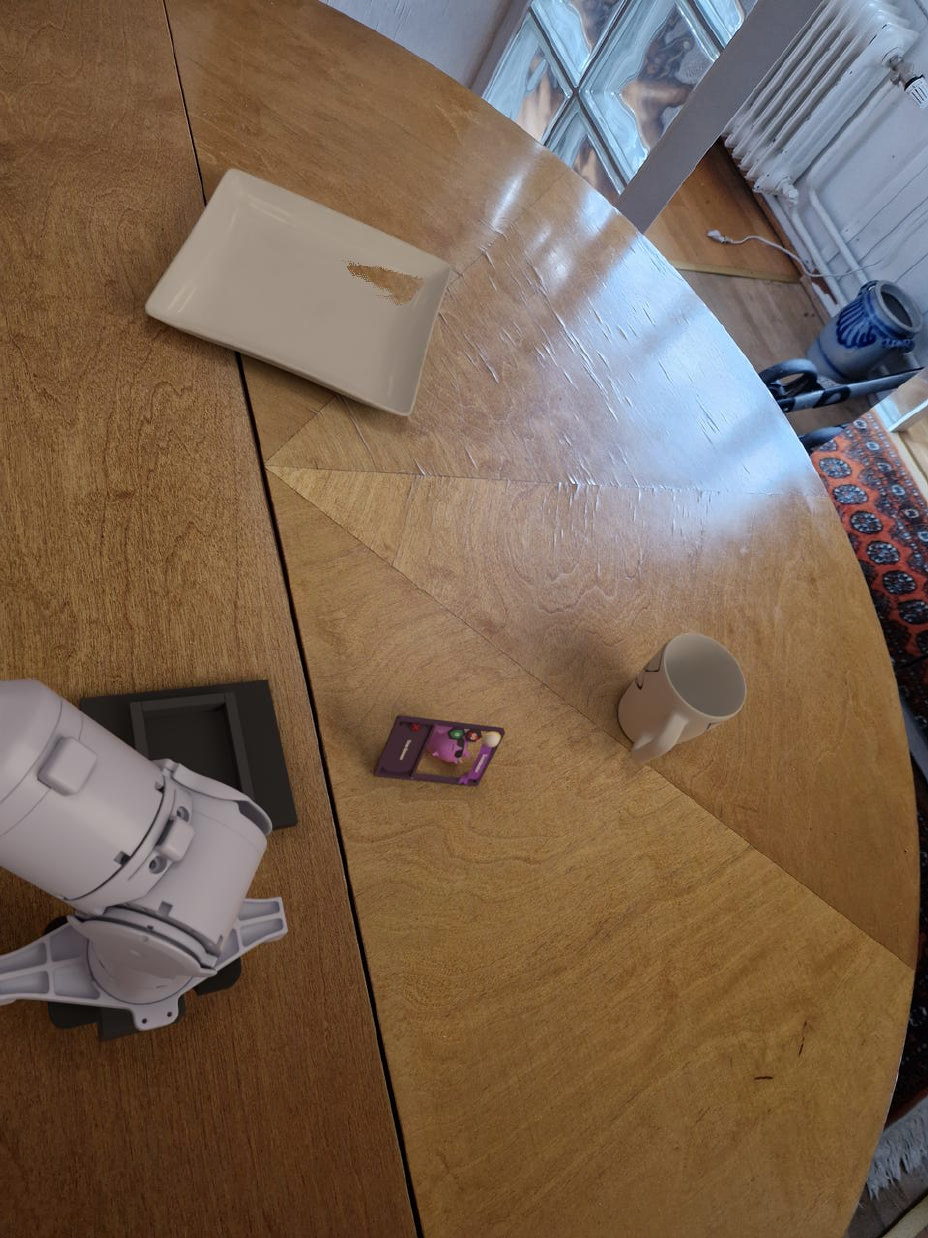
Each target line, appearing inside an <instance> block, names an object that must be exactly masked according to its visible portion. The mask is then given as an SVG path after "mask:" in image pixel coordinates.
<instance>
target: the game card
mask: <svg viewBox="0 0 928 1238" xmlns="http://www.w3.org/2000/svg"><path fill="white" fill-rule="evenodd" d="M482 732H485V733H484V734H482ZM505 734H506V731H505V728H504V727H498V726H491V725H483V724H476V723H467V722H460V721H453V720H451V721H450V720H443V719H436V718H427V717H419V716H411V715H402V714H399V715H397V716H396V717H395V720H394V722H393V724H392V727H391V730H390V732H389V734H388V737H387V739H386V742H385V744H384V746H383V748H382V751H381V753H380V756H379V759H378V761H377V763H376V766H375V769H374V776H375V777H379V778H380V777H381V778H388V779H389V778H390V779H400V780H410V781H419V782H430V783H440V784H449V785H460V786H468V787H469V786H471V787H477V786H479V784H480V783H481V781H482V779H483V777H484V775H485V773H486V771H487V769H488V768H489V765H490V764H491V761H492V760H493V757H494V755H495V754H496V752H497V750H498V748H499V746H500V744H501V742H502V740H503V738H504V737H505ZM479 740H480V741H481V746H480V749H479V751H478V755H477V757H476V758H475V759H476V760H475V762H474V763H473V766H472V767H471V769H470V771H469V773H468V774H462V775H461V777H453V776H443V775H434V774H424V773H416V772H417V770H418V768H419V765H420V763H421V761H422V759H423V756H424V754H425V752H426V751H428V752H429V753H431V756H433V757H436V758H438V759H440V760H442V761H444V762H448V763H451V762H454V763H455V764H457V763H458V762H460V763H461V764H462V763H464V762H463V761H462V758H463V756H464V757H466V758H468V757H469V758H472V757H473V755H472V754H471V753H469V752H467V750H468V746H469V744H473V743H476V742H478V741H479Z"/></svg>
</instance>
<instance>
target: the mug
mask: <svg viewBox="0 0 928 1238" xmlns="http://www.w3.org/2000/svg"><path fill="white" fill-rule="evenodd" d="M746 697H747V683H746V678H745V675H744V672H743V670H742V668H741V666H740V664H739V662H738V661H737V659H736V657H735V656H734V655H733V654H732V653H731V652H730V651H729V650H728V648H727V647H726V646H724V645H723V644H721V643H720V642H719V641H718V640H716V639H714V638H712V637H710V636H708V635H706V634H703V633H699V632H690V631H689V632H683V633H679V634H677V635H675V636H673V637H672V638H670V639H669V640H668V641H667V642H666V643H665V644H664V645H663V646H662V647H661V648H660V649H659V650H658V651H657V652H656V653H655V654H654V655H653V656H652V658H650V660H649V661H648V662H646V664H645V665H644V666H643V667H642V669H641V670H640V671H639V672H638V674H637V675H636V677H635V678H634V679H633V681H632V682H631V684H630V685H629V687H628V688H627V690H626V691H625V692H624V694H623V695H622V697H621V698H620V701H619V703H618V708H617V716H618V722H619V725H620V727H621V729H622V731H623V733H624V734H625V736H626V737H627V738H628V739H629V741H631V742H632V743H633V745H632V748H631V750H630V754H629V756H630V758H631V760H632V761H634V762H635V763H637V764H638V765H644V764H647V763H649V762H651V761H653V760H655V759H658V758H660V757H661V756H664V755H665V754H666V753H668V752H669V751H670V750H672V749H673V747H674V746H676V745H679V744H682V743H684V742H687V741H690V740H692V739H694V738H696V737H699V736H701V735H703V734H705V733H707V732H709V731H711V730H712V729H714V728H716V727H717V726H720V725H721V724H723V723H725V722H726V721H728V720H730V719H731V718H733V717H735V716H736V715H738V713H739V712H740V711H741V710H742V708H743V705H744V704H745V702H746Z"/></svg>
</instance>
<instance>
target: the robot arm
mask: <svg viewBox="0 0 928 1238" xmlns="http://www.w3.org/2000/svg"><path fill="white" fill-rule="evenodd" d="M272 831H273V830H272V823H271V820H270V818H269V817H268V815H267V814H266V813H265V812H264V811H263V810H262V809H261V808H260V807H259V806H258V805H257V804H255V803H254V802H253V801H252V800H251V799H250V798H249V797H248V796H246V795H244V794H243V793H241V792H239V791H237V790H236V789H234V788H232V787H230V786H227V785H225V784H223V783H221V782H218V781H216V780H213V779H210V778H208V777H205V776H202V775H199V774H197V773H195V772H192V771H191V770H189V769H187V768H186V767H184V766H183V765H181V764H180V763H175V762H173V761H172V760H170V759H161V760H154V761H149V760H148V759H147V758H145V757H144V756H142V755H141V754H140V753H138V752H137V751H135V750H134V749H133V748H131V747H130V746H129V745H127V744H126V743H124V742H123V741H122V740H120V739H119V738H117V737H116V736H115V735H113V734H112V733H111V732H109V731H108V730H106V729H105V728H104V727H102V726H101V725H99V724H98V723H97V722H95V721H94V720H93V719H91V718H90V717H88V716H87V715H86V714H84V713H83V712H81V711H80V708H77V707H76V706H75V705H73V704H72V703H71V702H69V701H68V700H67V699H65V698H64V697H63V696H61V695H60V694H59V693H57V692H56V691H54V690H53V689H52V688H50V687H48V686H47V685H46V684H45V683H43V681H40V680H38V679H34V678H16V679H7V680H6V679H5V680H0V867H1V868H3V869H4V870H6V871H8V872H10V873H12V874H14V875H15V876H17V877H18V878H21V879H22V880H24V881H26V882H27V883H29V884H31V885H32V886H35V887H37V888H38V889H40V890H42V891H44V892H46V893H47V894H49V895H51V896H52V897H55V898H56V899H58V900H60V901H62V902H64V903H65V904H67V905H69V906H71V907H72V908H74V909H76V910H75V911H74V912H73V913H68V914H64V915H60V916H57V917H55V918H53V919H51V920H50V921H49V922H48V923H47V924H46V926H45V928H44V930H43V932H42V936H41V937H40V938H38V939H36V940H34V941H33V942H30V943H29V944H27V945H24V946H23V947H20V948H19V949H16V950H13V951H11V952H8V953H5V954H1V955H0V1006H5V1005H9V1004H13V1003H14V1002H15V1001H16V1000H31V1001H32V1000H34V1001H44V1002H47V1012H48V1018H49V1020H50V1022H51V1023H52V1025H53V1026H54V1027H55V1028H56V1029H58V1030H71V1029H75V1028H79V1027H83V1026H88V1025H91V1024H95V1023H97V1022H99V1021H101V1020H102V1012H101V1007H110V1008H119V1009H126V1010H129V1011H130V1012H131V1013H132V1015H133V1020H134V1025H135V1027H136V1028H137V1029H138V1030H140V1031H143V1032H147V1031H150V1029H151V1030H154V1028H155V1029H158V1027H159V1028H162V1027H166V1026H170V1025H172V1024H171V1023H172V1022H174V1020H175V1019H176V1017H177V1016H178V998H179V997H180V996H181V995H182V994H185V993H186V992H188V991H190V990H191V989H193V990H194V992H195V994H196V996H197V997H201V996H206V995H209V994H213V993H217V992H221V991H225V990H228V989H230V988H233V986H234V985H235V984H236V983H237V982H238V981H239V979H240V977H241V975H242V961H241V957H242V956H243V955H245V954H246V953H248V952H249V951H251V950H252V949H254V948H256V947H257V946H259V945H261V944H263V943H267V944H268V943H271V942H275V941H281V940H282V939H283V938H284V936H286V935H287V934H288V931H289V929H288V924H287V917H286V914H285V909H284V903H283V899H282V897H281V896H274V897H267V898H253V897H252V898H250V897H247V894H248V892H249V890H250V887H251V884H252V882H253V880H254V878H255V875H256V873H257V870H258V868H259V867H260V866H259V865H260V863H261V861H262V859H263V856H264V855H265V851H266V850H267V848H268V839H267V838H266V837H267V836H269V835H270V834H271V833H272ZM167 1014H170V1015H171V1017H168V1016H167ZM142 1020H145V1021H146V1023H145V1024H143V1023H142ZM169 1024H170V1025H169ZM165 1025H166V1026H165ZM146 1030H147V1031H146Z"/></svg>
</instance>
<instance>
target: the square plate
mask: <svg viewBox="0 0 928 1238" xmlns="http://www.w3.org/2000/svg"><path fill="white" fill-rule="evenodd" d="M342 260H343V261H342ZM348 261H349V262H348ZM350 261H351V262H350ZM345 262H346V263H345ZM353 262H354V266H355V264H356V266H359V265H362V266H368V267H369V266H370V267H373V266H374V267H375V266H377V267H378V266H379V267H382V269H383V268H384V270H385V269H386V268H387V269H386V271H387V270H392V271H393V270H394V271H393V272H398V271H399V272H398V274H399V273H400V274H401V273H403V275H404V274H405V275H406V274H407V275H410V276H411V275H412V277H416V276H418V277H417V279H418V278H419V279H420V278H423V280H422V281H424V282H423V283H424V285H423V287H420V289H419V291H417V290H416V293H415V294H413V295H414V296H413V298H412V299H411V300H410V301H408V302H405V303H407V304H405V303H404V305H403V303H400V304H402V305H400V304H399V303H398V304H399V305H397V306H396V304H397V302H398V301H397V302H396V301H395V302H396V304H395V302H394V300H395V299H394V300H393V299H391V298H392V297H391V298H390V296H389V295H392V293H393V292H392V293H391V292H390V293H389V291H390V290H389V291H388V290H387V288H386V289H385V288H384V289H383V290H384V292H383V290H382V289H381V290H380V288H381V287H380V288H379V287H378V288H377V286H378V285H377V286H376V285H375V284H374V283H373V282H366V280H364V279H365V278H364V279H363V278H362V277H357V276H361V275H357V276H356V275H355V273H354V272H353V273H354V275H355V276H352V275H353V274H351V273H352V272H351V273H350V271H351V270H350V271H349V270H348V268H347V266H350V265H351V264H350V265H349V263H352V265H353ZM358 263H359V264H358ZM377 267H376V268H377ZM379 267H378V268H379ZM352 271H353V270H352ZM392 271H391V272H392ZM452 272H453V265H452V263H450V262H449V261H447V260H446V259H444V258H441V257H439V256H438V255H435V254H433V253H430V252H429V251H426V250H423V249H421V248H419V247H417V246H415V245H413V244H411V243H409V242H406V241H404V240H402V239H401V238H398V237H395V236H393V235H392V234H389V233H387V232H385V231H382V230H380V229H378V228H376V227H374V226H371V225H369V224H367V223H365V222H362V221H360V220H358V219H355V218H354V217H351V216H349V215H346V214H344V213H342V212H340V211H337V210H335V209H333V208H332V207H328V206H326V205H323V204H321V203H319V202H317V201H314V200H312V199H310V198H308V197H305V196H303V195H301V194H298V193H297V192H294V191H291V190H289V189H287V188H285V187H282V186H280V185H277V184H275V183H272V182H270V181H267V180H265V179H263V178H261V177H258V176H255V175H253V174H251V173H248V172H246V171H244V170H241V169H239V168H234V167H229V168H228V169H227V170H226V171H225V172H224V174H223V175H222V177H221V178H220V180H219V182H218V184H217V185H216V187H215V189H214V191H213V193H212V195H211V196H210V198H209V199H208V202H207V204H206V205H205V207H204V209H203V211H202V213H201V214H200V216H199V217H198V219H197V221H196V223H195V224H194V226H193V227H192V229H191V231H190V232H189V234H188V235H187V237H186V238H185V240H184V242H183V243H182V245H181V247H180V248H179V250H178V251H177V253H176V254H175V256H174V258H173V259H172V260H171V263H169V265H168V266H167V268H166V270H164V271H163V274H162V276H161V277H160V279H159V280H158V282H157V283H156V285H155V286H154V288H153V289H152V291H151V293H150V295H148V298H147V300H146V302H145V303H144V311H145V313H146V314H147V315H148V316H150V317H152V318H154V319H155V320H158V321H160V322H162V323H164V324H166V325H167V326H170V327H172V328H174V329H176V330H179V331H181V332H184V333H186V334H189V335H190V336H193V337H196V338H199V339H200V340H203V341H206V342H210V343H212V344H215V345H218V346H220V347H224V348H225V349H229V350H232V351H235V352H237V353H240V354H243V355H246V356H248V357H250V358H254V359H256V360H258V361H261V362H263V363H267V364H268V365H271V366H274V367H276V368H278V369H282V370H283V371H286V372H287V373H290V374H294V375H295V376H298V377H300V378H303V379H306V380H308V381H310V382H313V383H315V384H317V385H319V386H321V387H324V388H326V389H327V390H328V389H329V390H330V391H334V392H335V393H337V394H339V395H342V396H344V397H347V398H349V399H350V400H353V401H355V402H357V403H361V404H364V405H366V406H368V407H371V408H374V409H377V410H379V411H382V412H385V413H389V414H393V415H396V416H400V417H409V416H411V414H412V412H413V410H414V408H415V404H416V401H417V397H418V393H419V389H420V385H421V381H422V376H423V372H424V367H425V362H426V360H427V359H426V358H427V354H428V351H429V347H430V343H431V339H432V336H433V333H434V329H435V325H436V322H437V318H438V316H439V312H440V311H441V306H442V304H443V300H444V298H445V296H446V293H447V289H448V287H449V284H450V282H451V278H452ZM359 274H360V273H359ZM362 275H363V274H362ZM364 275H365V274H364ZM353 277H354V278H353ZM363 277H364V276H363ZM365 277H366V276H365ZM367 277H368V276H367ZM361 278H362V279H361ZM366 279H367V278H366ZM368 279H369V278H368ZM368 279H367V281H368ZM369 281H370V280H369ZM372 283H373V284H372ZM374 285H375V286H374ZM373 287H374V288H373ZM375 287H376V288H375ZM382 288H383V287H382ZM378 289H379V290H378ZM388 289H389V288H388ZM386 290H387V291H386ZM391 291H392V290H391ZM394 293H395V292H394ZM413 293H414V292H413ZM376 295H377V296H376ZM378 295H379V296H378ZM380 295H381V296H380ZM382 295H383V296H382ZM393 295H394V294H393ZM384 296H389V297H384ZM379 297H380V298H379ZM381 297H382V298H381ZM383 297H384V298H383ZM386 298H388V299H386ZM389 298H390V299H389ZM390 300H391V301H390ZM392 300H393V301H392ZM393 302H394V303H393Z"/></svg>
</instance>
